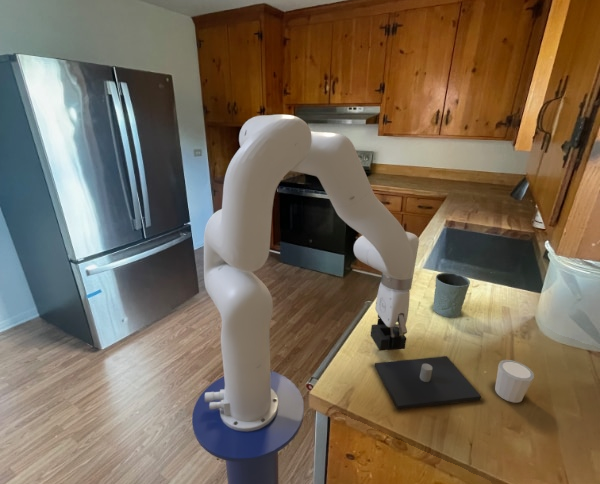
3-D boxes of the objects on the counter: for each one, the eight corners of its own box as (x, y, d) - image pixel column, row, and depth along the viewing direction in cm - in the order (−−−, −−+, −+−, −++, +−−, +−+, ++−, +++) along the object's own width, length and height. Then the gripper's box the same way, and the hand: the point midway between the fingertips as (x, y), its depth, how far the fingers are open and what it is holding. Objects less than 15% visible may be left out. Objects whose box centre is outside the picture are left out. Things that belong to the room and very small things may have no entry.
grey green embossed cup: (463, 307, 113) (470, 276, 108) (462, 322, 104) (470, 288, 100) (431, 300, 117) (437, 270, 112) (428, 314, 109) (434, 281, 104)
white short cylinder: (500, 378, 81) (507, 355, 79) (531, 396, 76) (540, 372, 73) (486, 390, 78) (493, 366, 75) (517, 409, 72) (525, 384, 70)
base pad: (397, 410, 72) (400, 393, 70) (374, 366, 85) (376, 351, 83) (480, 400, 75) (484, 384, 73) (446, 359, 88) (449, 345, 86)
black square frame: (379, 351, 86) (381, 339, 85) (370, 335, 92) (371, 324, 91) (404, 349, 87) (406, 338, 86) (393, 333, 93) (395, 323, 92)
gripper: (370, 267, 90) (363, 322, 97) (397, 297, 74) (387, 361, 81) (396, 266, 92) (387, 321, 98) (427, 296, 76) (415, 359, 82)
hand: (387, 338), depth 89 cm, fingers closed on black square frame, 7 cm apart
